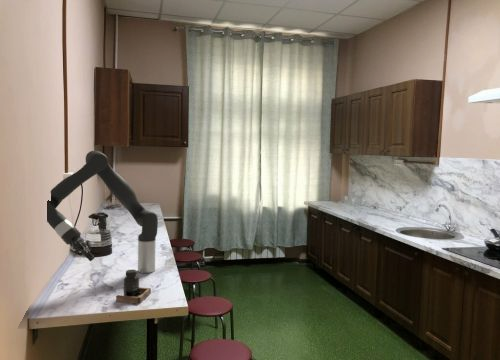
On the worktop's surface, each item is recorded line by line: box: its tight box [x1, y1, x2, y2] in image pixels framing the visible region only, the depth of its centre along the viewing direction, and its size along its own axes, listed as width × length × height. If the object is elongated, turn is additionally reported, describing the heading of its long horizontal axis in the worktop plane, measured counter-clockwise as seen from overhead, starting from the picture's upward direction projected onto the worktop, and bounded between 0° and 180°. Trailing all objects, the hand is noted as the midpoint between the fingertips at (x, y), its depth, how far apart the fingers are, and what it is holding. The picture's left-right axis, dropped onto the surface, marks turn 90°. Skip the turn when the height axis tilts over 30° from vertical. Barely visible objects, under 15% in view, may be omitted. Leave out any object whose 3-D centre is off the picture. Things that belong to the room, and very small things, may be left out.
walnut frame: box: [115, 286, 152, 305], centre depth 174 cm, size 12×11×2 cm
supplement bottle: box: [122, 269, 140, 297], centre depth 174 cm, size 7×7×12 cm
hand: (92, 259), depth 178 cm, fingers closed
